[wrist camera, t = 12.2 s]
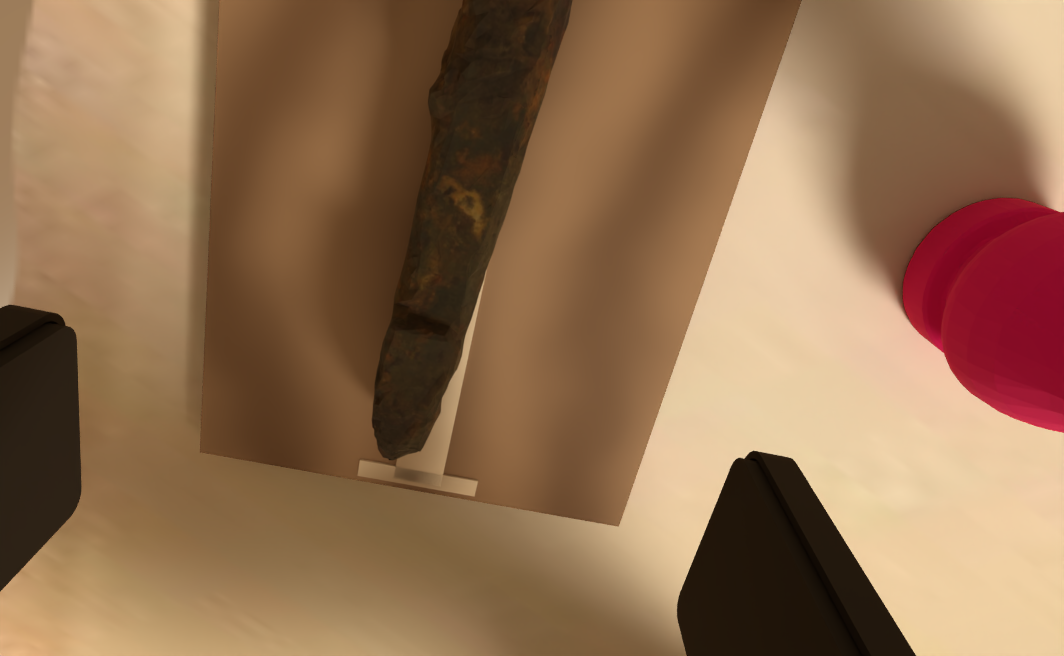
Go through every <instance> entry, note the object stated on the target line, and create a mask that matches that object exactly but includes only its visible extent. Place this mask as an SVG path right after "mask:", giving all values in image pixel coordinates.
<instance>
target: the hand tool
mask: <svg viewBox="0 0 1064 656" xmlns="http://www.w3.org/2000/svg"><path fill="white" fill-rule="evenodd" d="M572 1H573V0H463V1H462V7H461V9H460V10H459V12H458V15H457V18H456V20H455V23H454V26H453V28H452V31H451V35H450V40H449V45H448V47H447V49H446V50H445V51H444V54H443V57H442V61H441V70H440V71H441V72H440V74H439V76H438V78H437V80H436V81H435V83H434V84H433V85H432V87H431V88H430V89H429V96H428V107H429V112H430V116H431V142H430V148H429V152H428V157H427V161H426V164H425V168H424V172H423V176H422V181H421V185H420V189H419V193H418V197H417V202H416V207H415V213H414V218H413V223H412V228H411V233H410V237H409V240H408V246H407V251H406V255H405V259H404V263H403V267H402V271H401V275H400V278H399V281H398V284H397V288H396V291H395V295H394V302H393V313H392V318H391V321H390V324H389V326H388V329H387V332H386V335H385V337H384V340H383V343H382V348H381V352H380V360H379V364H378V368H377V372H376V378H375V386H374V401H373V413H372V427H373V429H374V436H375V438H376V440H377V446H378V450H379V452H380V454H381V455H382V457H383V458H387V459H389V460H392V461H393V460H396V459H398V458H401V457H403V456H405V455H407V454H412V453H417V452H418V451H419V452H421V450H422V449H423V447H424V445H425V443H426V441H427V439H428V437H429V435H430V433H431V430H432V428H433V426H434V424H435V422H436V420H437V418H438V417H439V415H440V413H441V403H442V397H443V395H444V394H445V392H446V390H447V388H448V385H449V382H450V380H451V379H452V377H453V375H454V373H455V372H456V370H457V369H458V366H459V363H460V360H461V357H462V353H463V346H464V340H465V335H466V332H467V329H468V327H469V324H470V322H471V319H472V316H473V313H474V310H475V306H476V303H477V300H478V296H479V293H480V290H481V287H482V284H483V281H484V278H485V273H486V270H487V267H488V264H489V261H490V259H491V256H492V254H493V251H494V248H495V245H496V242H497V239H498V236H499V233H500V230H501V228H502V225H503V222H504V220H505V217H506V214H507V211H508V208H509V205H510V201H511V198H512V194H513V191H514V187H515V184H516V181H517V179H518V176H519V174H520V171H521V168H522V164H523V161H524V157H525V153H526V150H527V146H528V142H529V140H530V137H531V134H532V131H533V128H534V125H535V122H536V119H537V116H538V113H539V110H540V108H541V105H542V102H543V99H544V96H545V93H546V89H547V85H548V81H549V78H550V74H551V71H552V68H553V66H554V63H555V60H556V57H557V54H558V51H559V48H560V45H561V42H562V39H563V36H564V34H565V31H566V28H567V26H568V23H569V17H570V12H571V6H572Z"/></svg>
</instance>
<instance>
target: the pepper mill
mask: <svg viewBox="0 0 1064 656" xmlns="http://www.w3.org/2000/svg"><path fill="white" fill-rule="evenodd" d="M903 302H904V307H905V311H906V313H907V315H908V318H909V320H910V322H911V324H912V325H913V327H914V328H915V329H916V330H917V331H918V332H919V333H920V334H921V335H922V336H923V337H925V338H926V339H927V340H928V341H929V342H931V343H932V344H933V345H934V346H936V347H937V348H938V349H939V350H941V351H942V352H943V353H944V354H945V357H946V359H947V362H948V364H949V367H950V369H951V371H952V372H953V373H954V375H955V376H956V378H957V379H958V380H959V382H960V383H961V384H962V385H963V386H964V387H965V388H966V389H967V390H968V391H969V392H970V393H971V394H973V395H974V396H976V397H978V398H979V399H981V400H982V401H984V402H985V403H987V404H988V405H990V406H991V407H993V408H994V409H996V410H997V411H999V412H1001V413H1003V414H1006V415H1008V416H1010V417H1012V418H1014V419H1017V420H1020V421H1023V422H1026V423H1028V424H1031V425H1034V426H1037V427H1041V428H1045V429H1049V430H1053V431H1058V432H1063V433H1064V212H1058V211H1055V210H1053V209H1050V208H1047V207H1044V206H1042V205H1039V204H1036V203H1033V202H1030V201H1026V200H1022V199H1018V198H996V199H990V200H984V201H980V202H977V203H974V204H971V205H969V206H966V207H964V208H962V209H960V210H958V211H956V212H955V213H953V214H951V215H950V216H949V217H947V218H946V219H945V220H943V221H942V222H940V223H939V224H938V225H936V226H935V227H934V228H933V229H932V230H931V231H930V233H929V234H928V235H927V236H926V237H925V238H924V240H923V241H922V242H921V243H920V245H919V246H918V247H917V248H916V250H915V252H914V254H913V256H912V258H911V260H910V262H909V265H908V267H907V271H906V274H905V277H904V282H903Z"/></svg>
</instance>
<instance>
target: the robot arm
mask: <svg viewBox="0 0 1064 656" xmlns="http://www.w3.org/2000/svg"><path fill="white" fill-rule="evenodd" d="M80 495H81V461H80V430H79V398H78V366H77V339H76V334H75V332H74V330H73V329H72V328H71V327H67V326H66V325H65V322H64V320H63V318H62V317H61V316H60V315H59V314H56V313H51V312H46V311H41V310H36V309H31V308H26V307H21V306H15V305H7V306H4V307H2V308H0V591H1V590H2V589H3V588H4V587H5V586H6V585H7V584H8V583H9V582H10V581H11V579H12V578H13V577H14V576H15V575H16V574H17V573H18V572H19V571H20V570H21V569H22V568H23V567H24V566H25V565H26V564H27V562H28V561H29V560H30V559H31V558H32V557H33V556H34V555H35V554H36V553H37V552H38V551H39V550H40V549H41V548H42V547H43V545H44V544H45V543H46V542H47V541H48V540H49V539H50V538H51V537H52V536H53V535H54V534H55V533H56V532H57V531H58V530H59V528H60V527H61V526H62V525H63V524H64V523H65V522H66V521H67V520H68V519H69V518H70V516H71V515H72V514H73V512H74V511H75V509H76V507H77V505H78V502H79V499H80ZM677 618H678V623H679V627H680V631H681V635H682V639H683V643H684V647H685V651H686V655H687V656H916V655H915V653H914V652H913V650H912V649H911V647H910V645H909V644H908V642H907V640H906V639H905V637H904V636H903V634H902V632H901V631H900V629H899V628H898V626H897V624H896V623H895V621H894V620H893V618H892V616H891V615H890V613H889V612H888V610H887V608H886V607H885V605H884V604H883V602H882V600H881V599H880V597H879V595H878V594H877V592H876V591H875V589H874V587H873V586H872V584H871V583H870V581H869V579H868V578H867V576H866V575H865V573H864V571H863V570H862V568H861V567H860V565H859V563H858V562H857V560H856V559H855V557H854V555H853V554H852V552H851V550H850V549H849V547H848V546H847V544H846V542H845V541H844V539H843V538H842V536H841V534H840V533H839V531H838V530H837V528H836V526H835V525H834V523H833V522H832V520H831V518H830V517H829V515H828V514H827V512H826V510H825V509H824V507H823V505H822V504H821V502H820V501H819V499H818V497H817V496H816V494H815V493H814V491H813V489H812V488H811V486H810V485H809V483H808V481H807V480H806V478H805V477H804V475H803V473H802V472H801V470H800V469H799V467H798V465H797V464H796V462H795V461H794V460H793V459H792V458H788V457H783V456H778V455H773V454H768V453H763V452H758V451H752V452H750V453H749V454H748V455H747V456H746V458H745V459H743V458H738V459H736V460H735V461H734V462H733V464H732V466H731V468H730V471H729V473H728V476H727V478H726V481H725V483H724V486H723V488H722V491H721V493H720V496H719V498H718V501H717V503H716V505H715V508H714V510H713V513H712V515H711V518H710V520H709V523H708V525H707V528H706V530H705V533H704V535H703V538H702V540H701V542H700V545H699V547H698V550H697V552H696V555H695V557H694V560H693V562H692V565H691V567H690V570H689V572H688V575H687V577H686V580H685V582H684V584H683V587H682V589H681V592H680V595H679V598H678V604H677Z"/></svg>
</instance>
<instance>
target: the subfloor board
mask: <svg viewBox="0 0 1064 656" xmlns="http://www.w3.org/2000/svg"><path fill="white" fill-rule="evenodd" d="M462 1H463V0H219V21H218V45H217V68H216V91H215V115H214V138H213V161H212V184H211V208H210V231H209V254H208V278H207V301H206V324H205V348H204V371H203V394H202V418H201V441H200V452H202V453H207V454H213V455H219V456H224V457H230V458H236V459H241V460H247V461H253V462H258V463H264V464H269V465H275V466H281V467H286V468H292V469H298V470H303V471H309V472H314V473H320V474H326V475H331V476H337V477H343V478H348V479H354V480H360V481H365V482H371V483H376V484H382V485H388V486H393V487H399V488H405V489H410V490H416V491H422V492H427V493H433V494H438V495H444V496H450V497H455V498H461V499H467V500H472V501H478V502H483V503H489V504H495V505H500V506H506V507H512V508H517V509H523V510H529V511H534V512H540V513H545V514H551V515H557V516H562V517H568V518H574V519H579V520H585V521H591V522H596V523H602V524H607V525H613V526H619V524H620V521H621V518H622V515H623V512H624V509H625V507H626V504H627V501H628V498H629V495H630V492H631V489H632V486H633V484H634V481H635V478H636V475H637V472H638V469H639V466H640V463H641V461H642V458H643V455H644V452H645V449H646V446H647V443H648V440H649V438H650V435H651V432H652V429H653V426H654V423H655V420H656V417H657V415H658V412H659V409H660V406H661V403H662V400H663V397H664V394H665V392H666V389H667V386H668V383H669V380H670V377H671V374H672V371H673V369H674V366H675V363H676V360H677V357H678V354H679V351H680V349H681V346H682V343H683V340H684V337H685V334H686V331H687V328H688V326H689V323H690V320H691V317H692V314H693V311H694V308H695V305H696V303H697V300H698V297H699V294H700V291H701V288H702V285H703V282H704V280H705V277H706V274H707V271H708V268H709V265H710V262H711V259H712V257H713V254H714V251H715V248H716V245H717V242H718V239H719V236H720V234H721V231H722V228H723V225H724V222H725V219H726V216H727V213H728V211H729V208H730V205H731V202H732V199H733V196H734V193H735V190H736V188H737V185H738V182H739V179H740V176H741V173H742V170H743V167H744V165H745V162H746V159H747V156H748V153H749V150H750V147H751V144H752V142H753V139H754V136H755V133H756V130H757V127H758V124H759V121H760V119H761V116H762V113H763V110H764V107H765V104H766V101H767V99H768V96H769V93H770V90H771V87H772V84H773V81H774V78H775V76H776V73H777V70H778V67H779V64H780V61H781V58H782V55H783V53H784V50H785V47H786V44H787V41H788V38H789V35H790V32H791V30H792V27H793V24H794V21H795V18H796V15H797V12H798V9H799V7H800V4H801V1H802V0H573V1H572V6H571V12H570V17H569V23H568V26H567V28H566V31H565V34H564V36H563V39H562V42H561V45H560V48H559V51H558V54H557V57H556V60H555V63H554V66H553V68H552V71H551V74H550V78H549V81H548V85H547V89H546V93H545V96H544V99H543V102H542V105H541V108H540V110H539V113H538V116H537V119H536V122H535V125H534V128H533V131H532V134H531V137H530V140H529V142H528V146H527V150H526V153H525V157H524V161H523V164H522V168H521V171H520V174H519V176H518V179H517V181H516V184H515V187H514V191H513V194H512V198H511V201H510V205H509V208H508V211H507V214H506V217H505V220H504V222H503V225H502V228H501V230H500V233H499V236H498V239H497V242H496V245H495V248H494V251H493V254H492V256H491V259H490V261H489V264H488V267H487V270H486V273H485V278H484V281H483V284H482V287H481V290H480V293H479V296H478V300H477V303H476V306H475V310H474V313H473V316H472V319H471V322H470V324H469V327H468V329H467V332H466V335H465V340H464V346H463V353H462V357H461V360H460V363H459V366H458V369H457V370H456V372H455V373H454V375H453V377H452V379H451V380H450V382H449V385H448V388H447V390H446V392H445V394H444V395H443V397H442V403H441V413H440V415H439V417H438V418H437V420H436V422H435V424H434V426H433V428H432V430H431V433H430V435H429V437H428V439H427V441H426V443H425V445H424V447H423V449H422V450H421V452H419V451H418V452H417V453H412V454H407V455H405V456H403V457H401V458H398V459H396V460H393V461H392V460H389V459H387V458H383V457H382V455H381V454H380V452H379V450H378V446H377V440H376V438H375V436H374V429H373V427H372V413H373V401H374V386H375V378H376V372H377V368H378V364H379V360H380V352H381V348H382V343H383V340H384V337H385V335H386V332H387V329H388V326H389V324H390V321H391V318H392V313H393V302H394V295H395V291H396V288H397V284H398V281H399V278H400V275H401V271H402V267H403V263H404V259H405V255H406V251H407V246H408V240H409V237H410V233H411V228H412V223H413V218H414V213H415V207H416V202H417V197H418V193H419V189H420V185H421V181H422V176H423V172H424V168H425V164H426V161H427V157H428V152H429V148H430V142H431V116H430V112H429V107H428V96H429V89H430V88H431V87H432V85H433V84H434V83H435V81H436V80H437V78H438V76H439V74H440V72H441V71H440V70H441V61H442V57H443V54H444V51H445V50H446V49H447V47H448V45H449V40H450V35H451V31H452V28H453V26H454V23H455V20H456V18H457V15H458V12H459V10H460V9H461V7H462Z"/></svg>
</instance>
